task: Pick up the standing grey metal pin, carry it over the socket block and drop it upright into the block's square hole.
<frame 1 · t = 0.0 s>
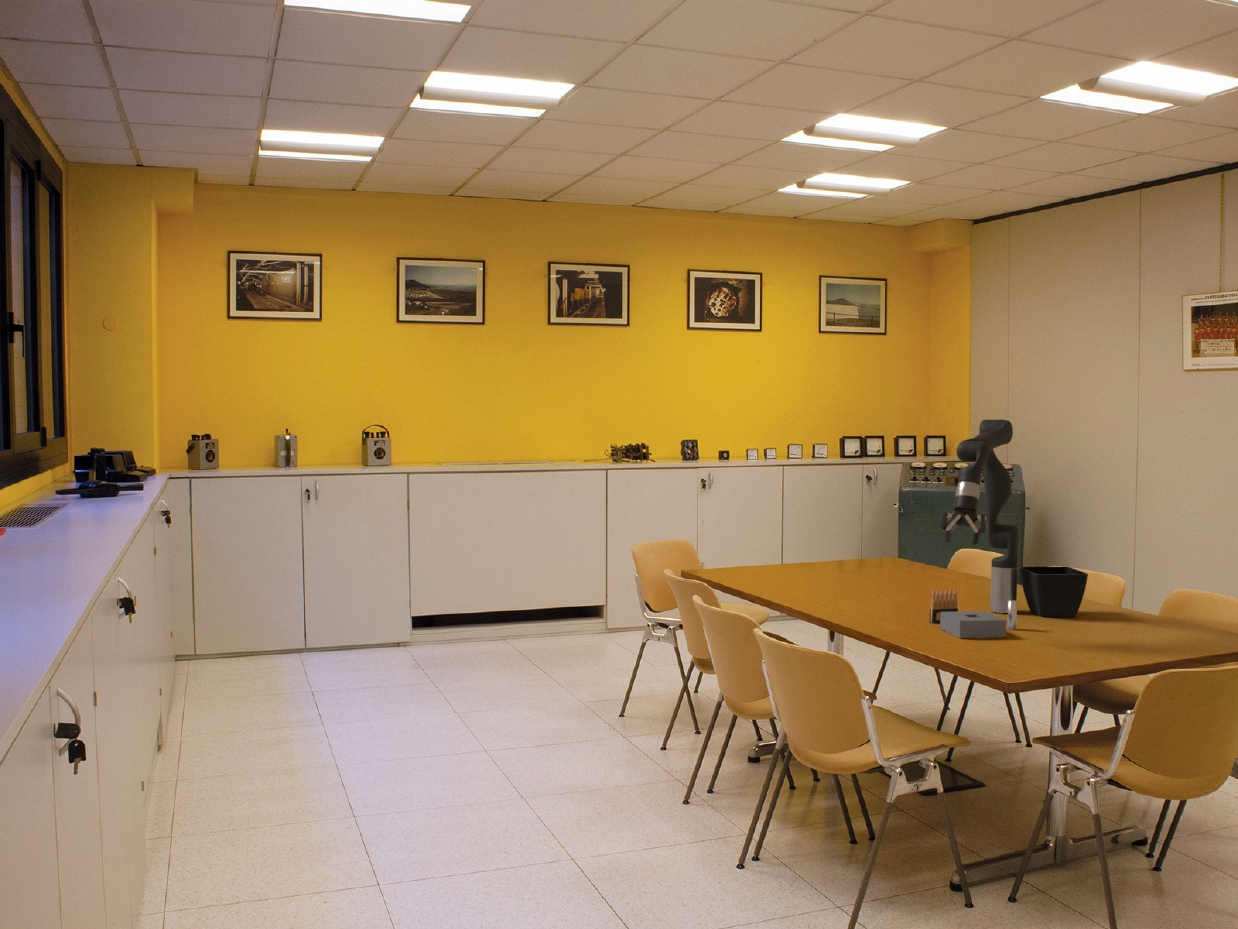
hand: (961, 544, 341), 31 cm above the table, tool tilted 20°, fingers open, 8 cm apart
ammunition clip: (943, 623, 369), on the table
socket block: (972, 633, 350), on the table
metal pin: (1011, 629, 358), on the table
flower pot: (1051, 615, 385), on the table
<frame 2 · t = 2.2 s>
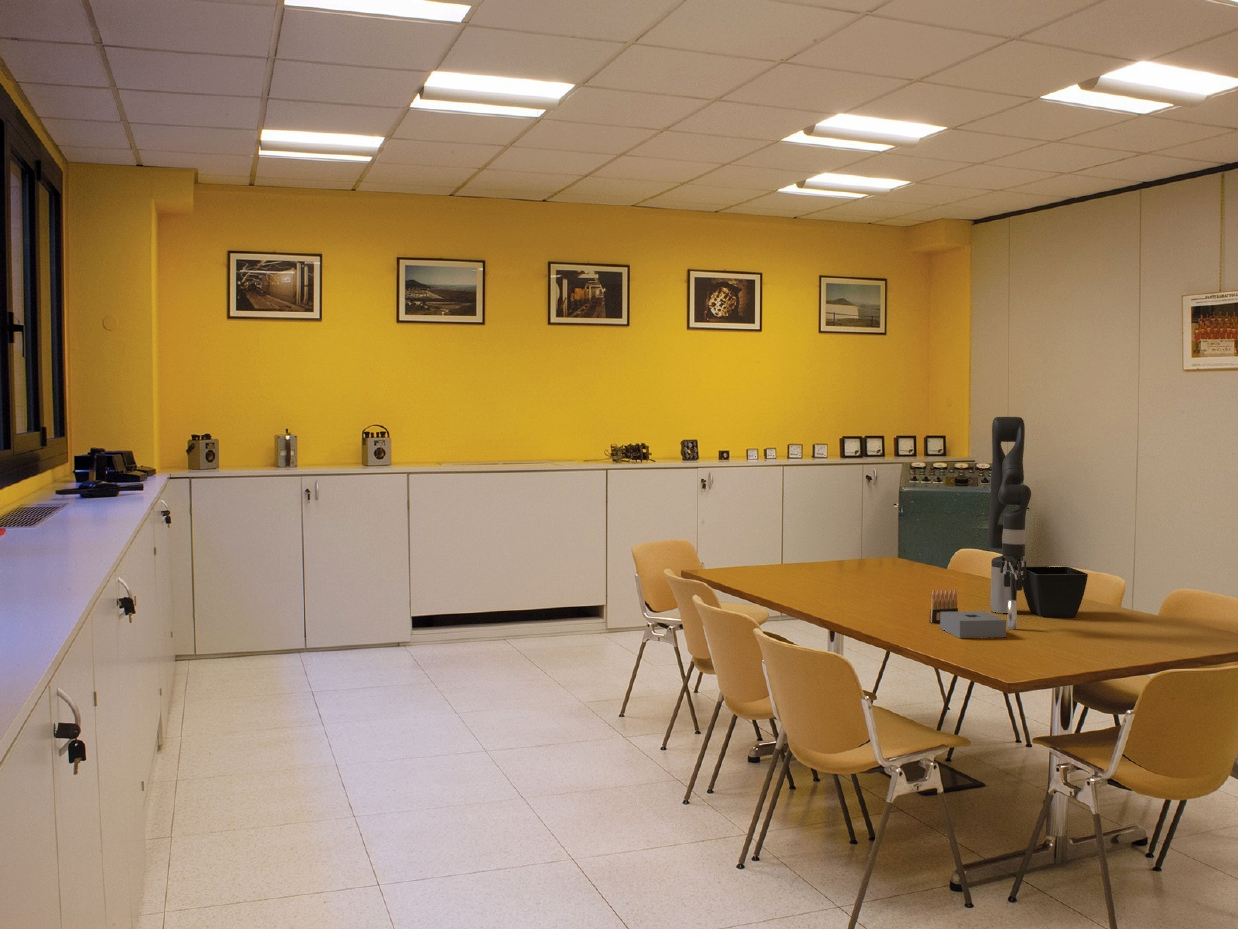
hand: (1012, 588, 357), 14 cm above the table, tool pointing down, fingers open, 8 cm apart
nothing on the table moved.
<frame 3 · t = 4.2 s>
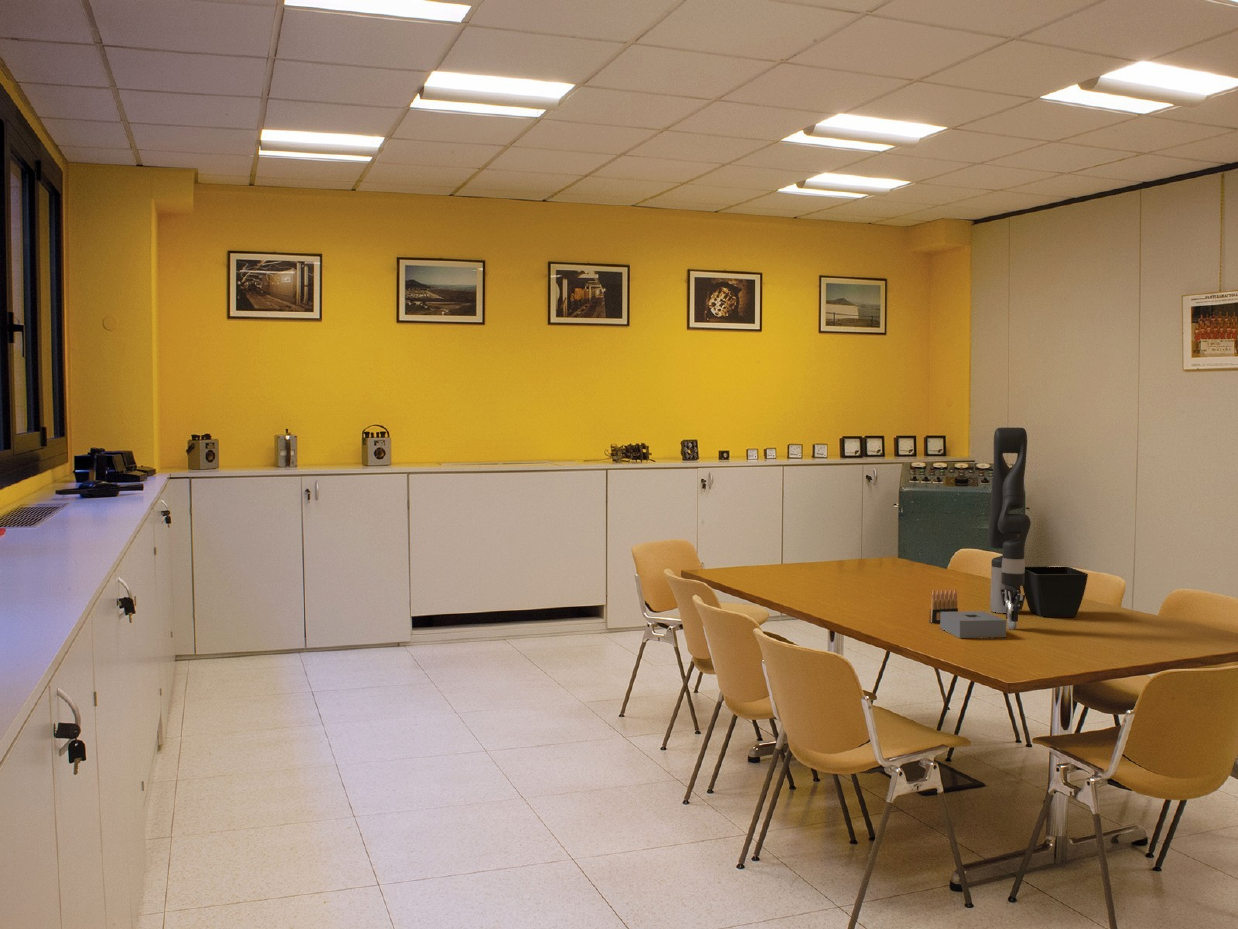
hand: (1011, 620, 357), 3 cm above the table, tool pointing down, fingers closed on metal pin, 3 cm apart
metal pin: (1011, 629, 358), on the table, touching gripper
everything else where it was.
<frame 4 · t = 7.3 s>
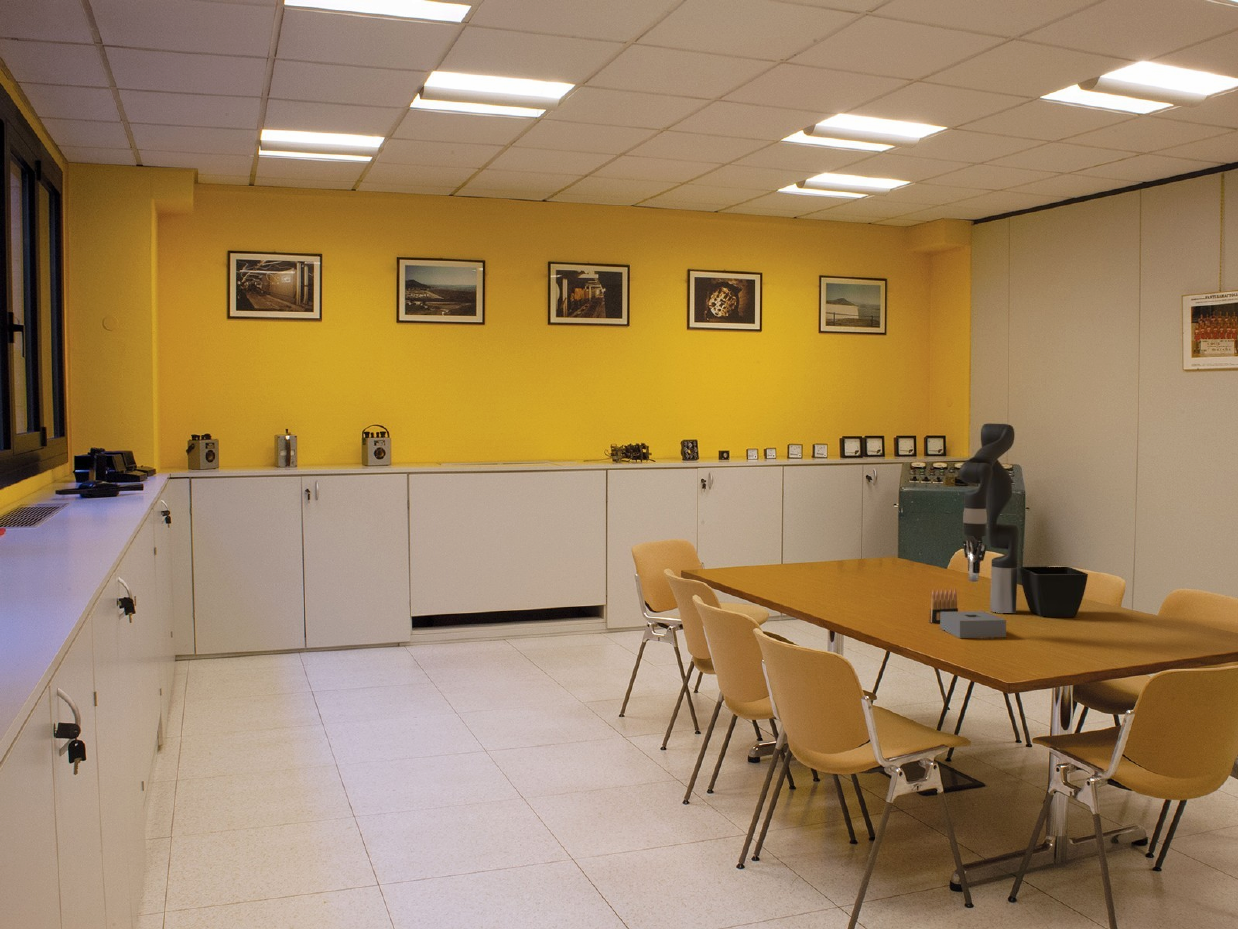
hand: (973, 572, 349), 21 cm above the table, tool pointing down, fingers closed on metal pin, 3 cm apart
metal pin: (973, 581, 349), point 18 cm above the table, touching gripper
everything else where it was.
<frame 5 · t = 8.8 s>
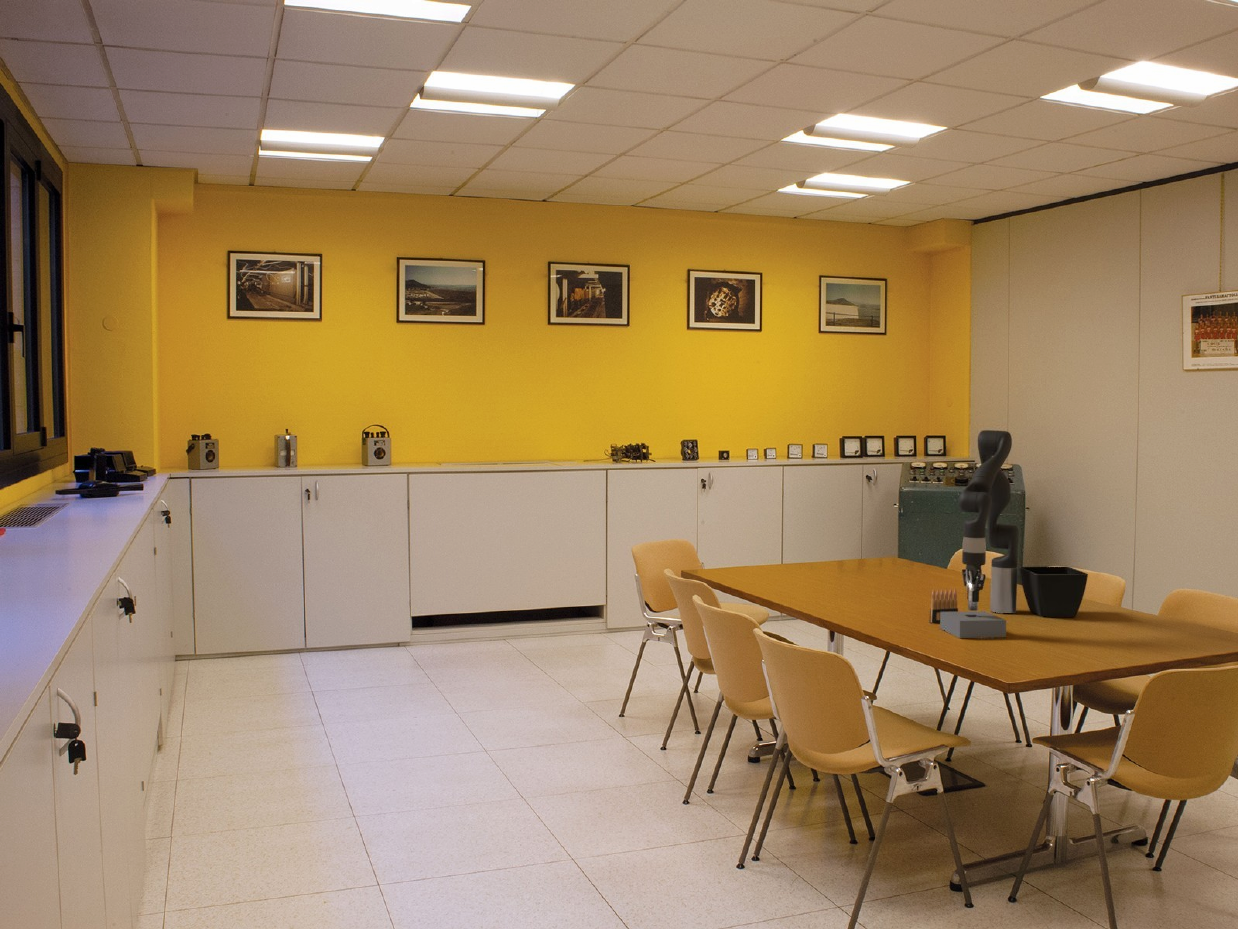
hand: (973, 600, 349), 11 cm above the table, tool pointing down, fingers closed on metal pin, 3 cm apart
metal pin: (972, 609, 350), point 8 cm above the table, touching gripper
everything else where it was.
when the fingers open (7 cm above the table, at t = 10.3 s): metal pin drops 4 cm, resting in socket block.
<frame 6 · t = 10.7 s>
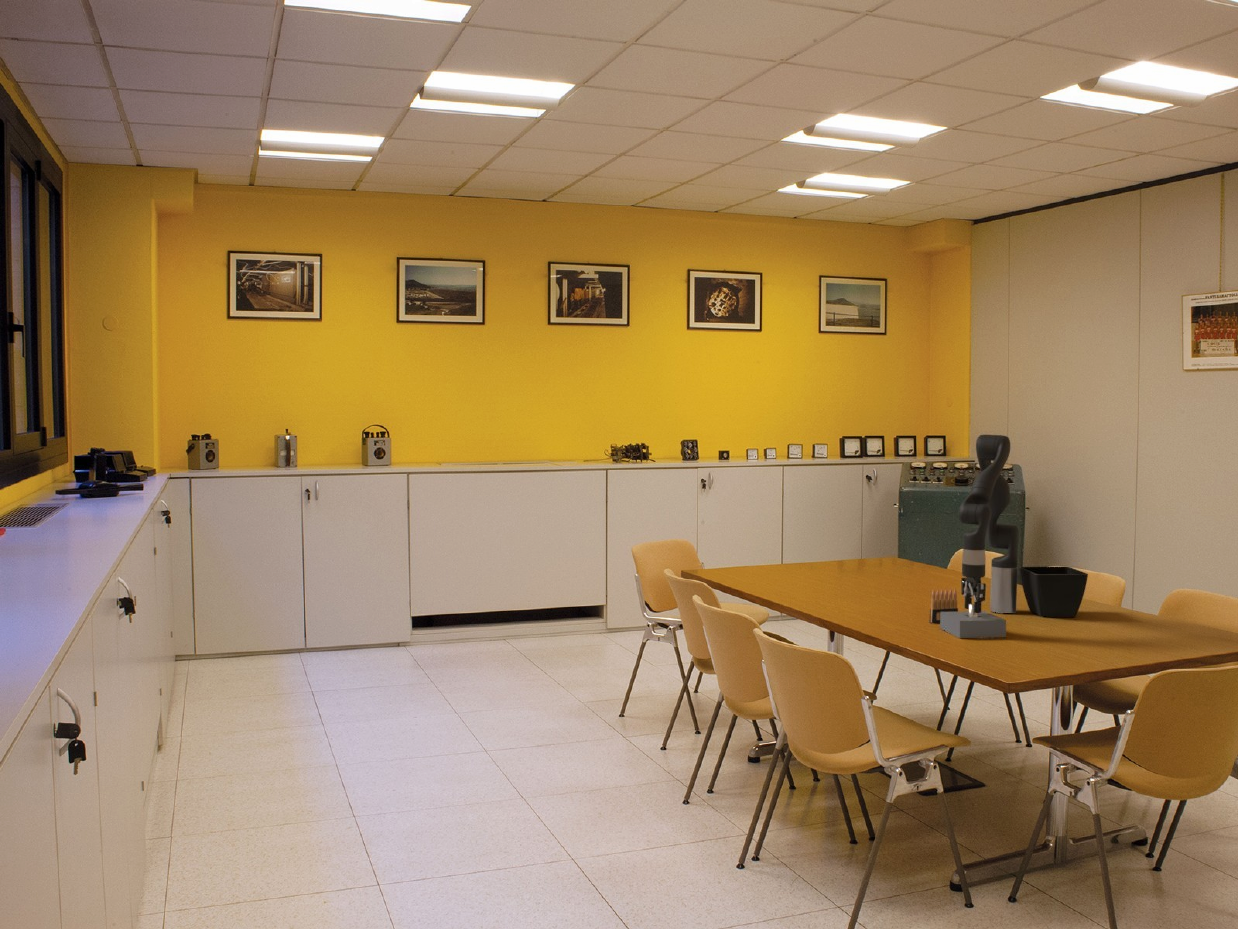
hand: (972, 610, 350), 8 cm above the table, tool pointing down, fingers open, 7 cm apart
metal pin: (972, 633, 350), resting in socket block
everything else where it was.
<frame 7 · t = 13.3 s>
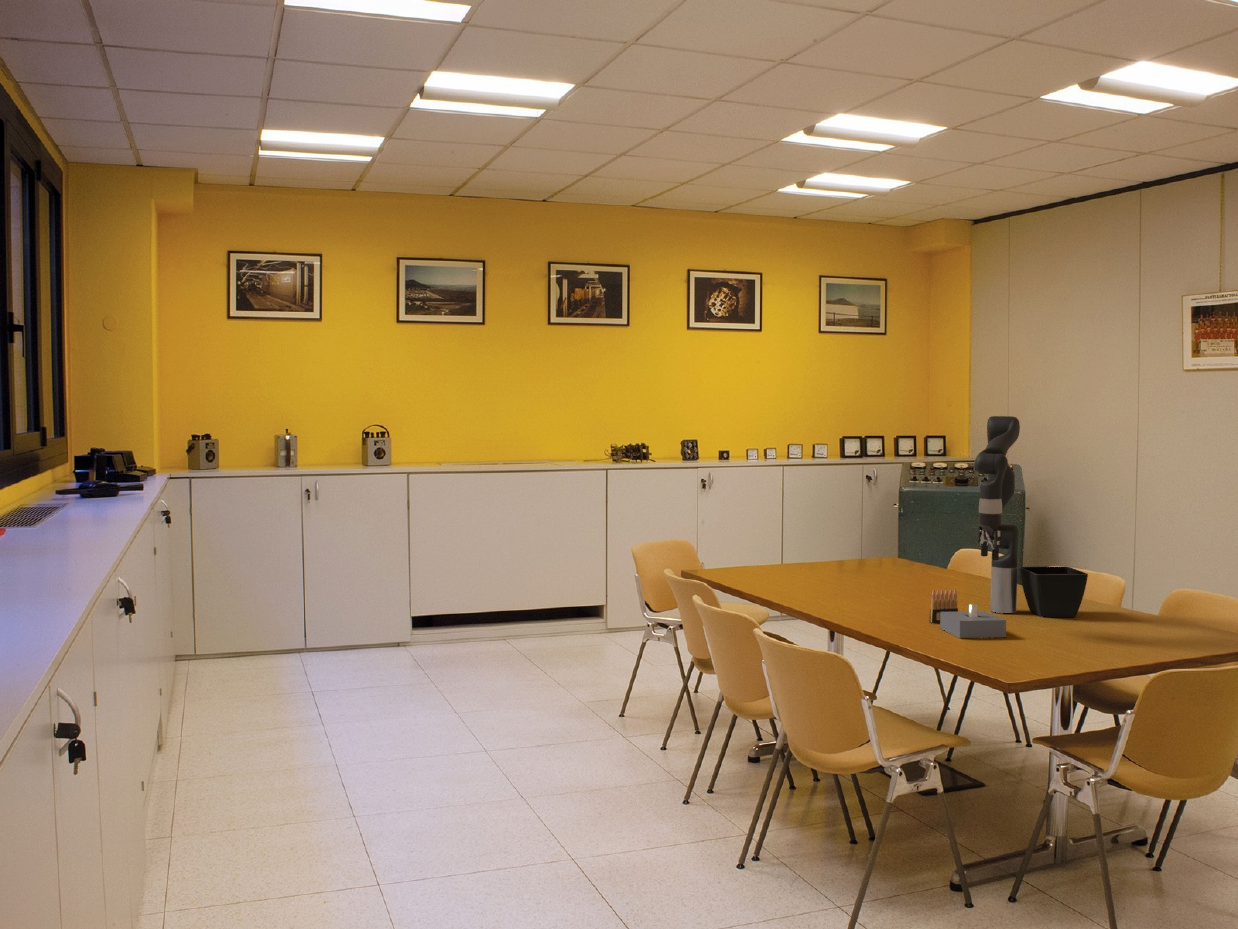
hand: (989, 558, 355), 25 cm above the table, tool pointing down, fingers open, 8 cm apart
nothing on the table moved.
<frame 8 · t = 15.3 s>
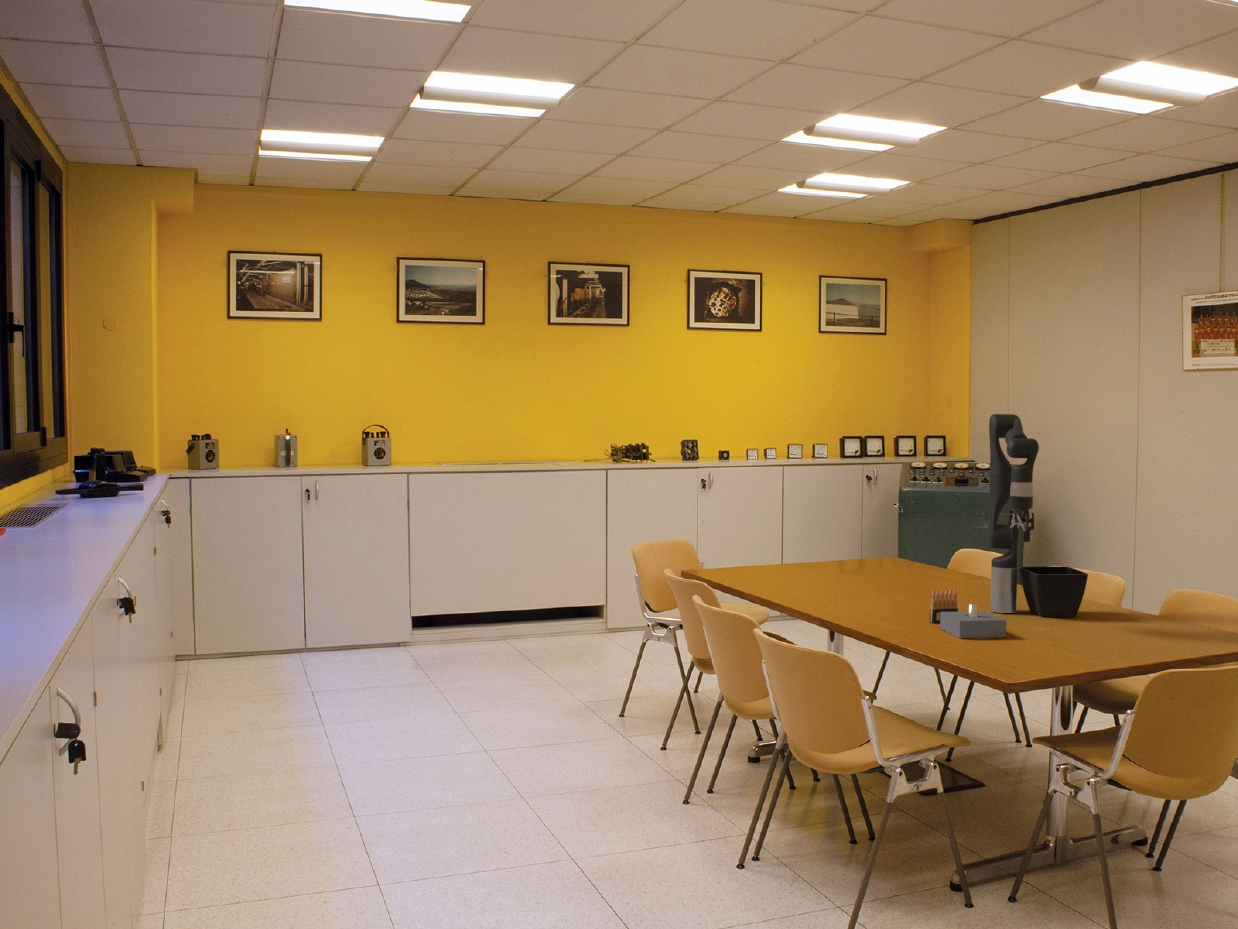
hand: (1020, 540, 364), 30 cm above the table, tool pointing down, fingers open, 8 cm apart
nothing on the table moved.
at the end: metal pin 0.2 cm off-centre on the socket block, point 0.0 cm above the socket block's base; metal pin tilted 0°; the gripper is holding nothing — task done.
